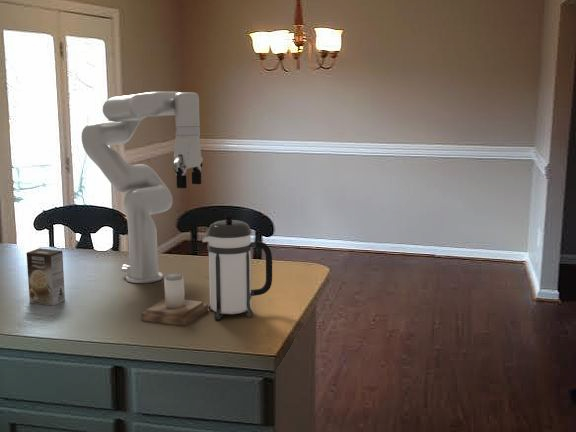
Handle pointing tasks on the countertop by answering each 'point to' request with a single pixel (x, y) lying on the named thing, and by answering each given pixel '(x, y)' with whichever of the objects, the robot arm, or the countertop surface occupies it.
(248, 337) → the countertop surface
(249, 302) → the coffee press
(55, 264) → the coffee box
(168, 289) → the canister
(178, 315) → the plinth
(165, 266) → the countertop surface
